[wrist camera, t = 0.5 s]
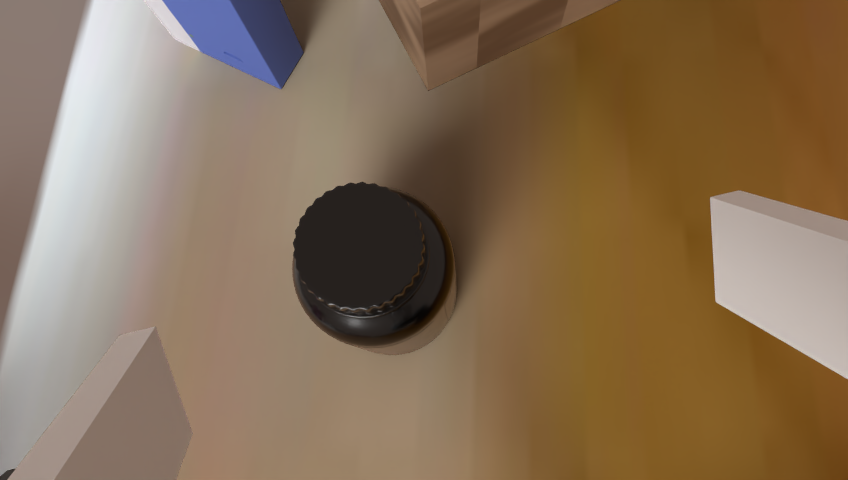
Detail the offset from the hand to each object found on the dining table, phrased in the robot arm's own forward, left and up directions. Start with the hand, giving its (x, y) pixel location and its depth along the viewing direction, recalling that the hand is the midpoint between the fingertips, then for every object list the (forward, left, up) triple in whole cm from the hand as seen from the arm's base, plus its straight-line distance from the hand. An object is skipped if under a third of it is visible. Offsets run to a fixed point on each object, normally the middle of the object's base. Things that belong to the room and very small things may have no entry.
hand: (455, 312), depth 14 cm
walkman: (+22, +4, -19) cm, 30 cm away
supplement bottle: (+4, +2, -19) cm, 20 cm away
